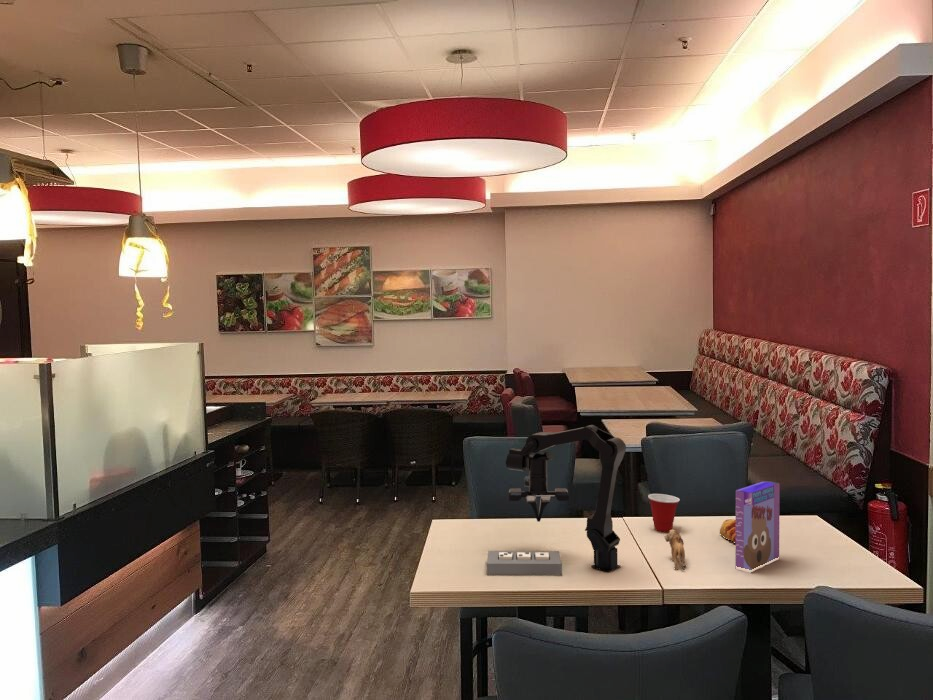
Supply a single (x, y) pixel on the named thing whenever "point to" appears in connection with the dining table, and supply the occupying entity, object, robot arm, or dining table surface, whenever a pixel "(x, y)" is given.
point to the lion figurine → (676, 547)
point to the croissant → (729, 529)
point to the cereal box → (757, 524)
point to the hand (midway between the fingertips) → (538, 521)
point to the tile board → (524, 564)
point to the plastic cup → (663, 511)
